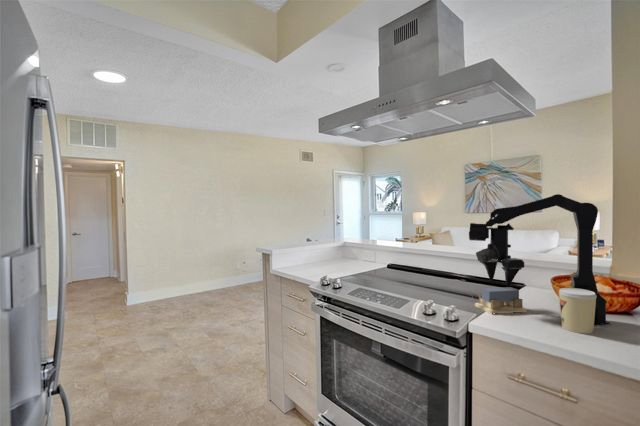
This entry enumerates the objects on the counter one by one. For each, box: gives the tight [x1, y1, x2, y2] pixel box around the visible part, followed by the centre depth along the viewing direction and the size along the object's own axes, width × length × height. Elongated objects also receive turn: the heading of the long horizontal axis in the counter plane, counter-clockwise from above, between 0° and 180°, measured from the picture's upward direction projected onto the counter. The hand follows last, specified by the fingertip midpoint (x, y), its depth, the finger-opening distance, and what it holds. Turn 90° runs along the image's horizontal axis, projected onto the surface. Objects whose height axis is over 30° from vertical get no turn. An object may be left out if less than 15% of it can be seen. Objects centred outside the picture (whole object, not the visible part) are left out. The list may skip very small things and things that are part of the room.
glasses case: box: [481, 286, 520, 302], centre depth 122 cm, size 4×12×4 cm, turn 97°
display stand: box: [474, 294, 528, 314], centre depth 122 cm, size 10×14×4 cm
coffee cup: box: [558, 287, 597, 335], centre depth 101 cm, size 9×9×12 cm
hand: (499, 282), depth 122 cm, fingers open, 9 cm apart
